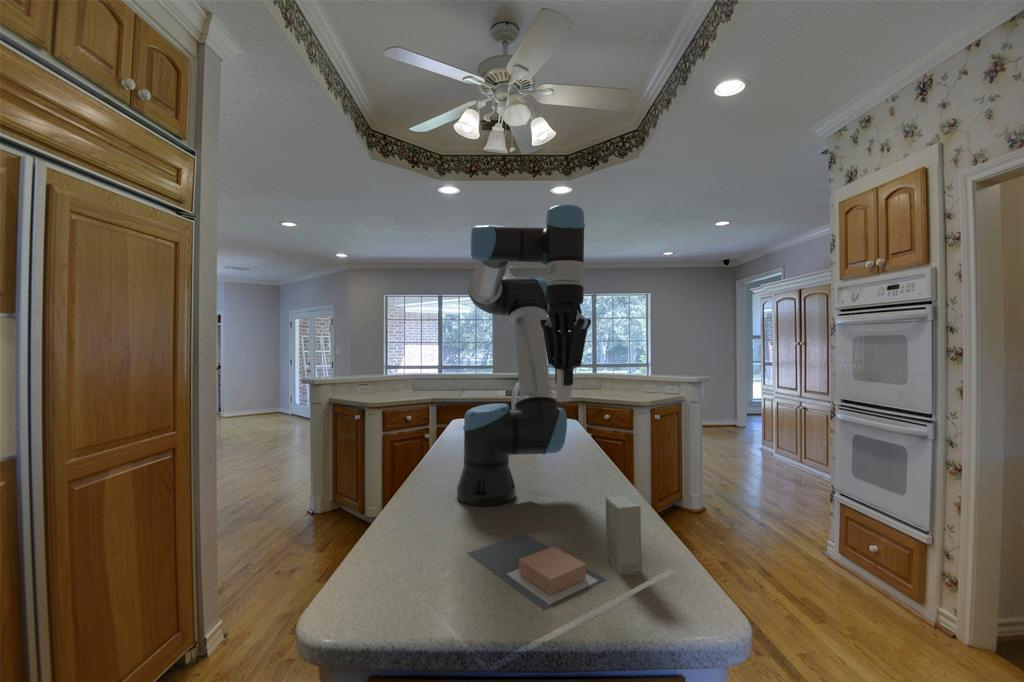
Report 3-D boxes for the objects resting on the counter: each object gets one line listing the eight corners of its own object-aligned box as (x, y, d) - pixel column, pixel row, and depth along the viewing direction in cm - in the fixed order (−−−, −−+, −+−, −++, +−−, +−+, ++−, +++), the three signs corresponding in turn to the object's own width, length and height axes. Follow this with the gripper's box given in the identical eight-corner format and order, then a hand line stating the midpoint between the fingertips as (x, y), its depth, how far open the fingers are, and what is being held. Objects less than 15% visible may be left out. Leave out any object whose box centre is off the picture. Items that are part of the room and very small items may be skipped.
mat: (466, 556, 85) (466, 552, 85) (524, 536, 94) (524, 533, 94) (544, 613, 68) (544, 609, 68) (606, 583, 76) (606, 579, 76)
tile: (519, 559, 77) (550, 579, 71) (553, 546, 82) (586, 564, 76) (519, 574, 77) (550, 596, 71) (553, 560, 82) (586, 579, 76)
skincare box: (642, 576, 78) (642, 506, 78) (617, 578, 77) (618, 508, 77) (627, 559, 84) (627, 494, 84) (604, 560, 84) (604, 495, 84)
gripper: (530, 286, 94) (529, 398, 95) (572, 280, 84) (571, 407, 84) (557, 288, 99) (557, 395, 99) (601, 283, 88) (600, 404, 89)
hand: (563, 401), depth 92 cm, fingers closed
